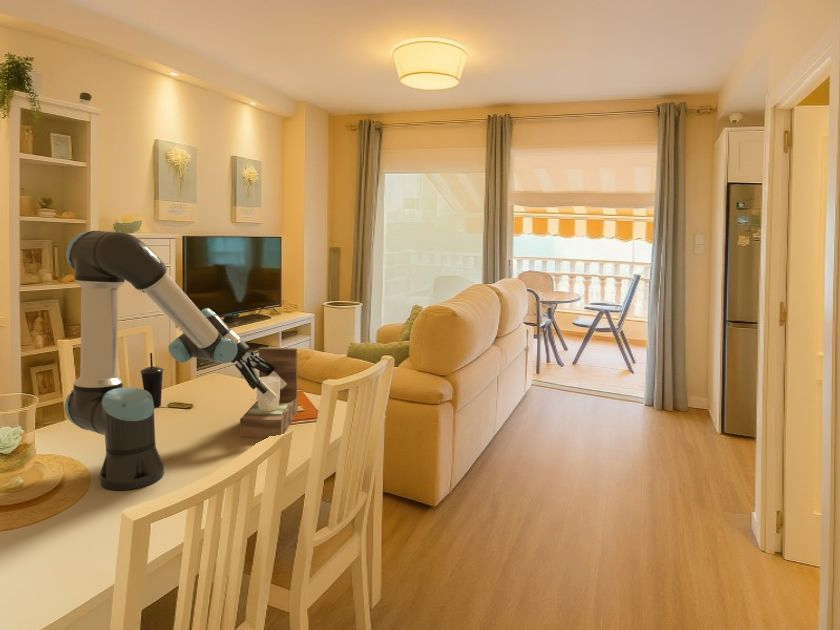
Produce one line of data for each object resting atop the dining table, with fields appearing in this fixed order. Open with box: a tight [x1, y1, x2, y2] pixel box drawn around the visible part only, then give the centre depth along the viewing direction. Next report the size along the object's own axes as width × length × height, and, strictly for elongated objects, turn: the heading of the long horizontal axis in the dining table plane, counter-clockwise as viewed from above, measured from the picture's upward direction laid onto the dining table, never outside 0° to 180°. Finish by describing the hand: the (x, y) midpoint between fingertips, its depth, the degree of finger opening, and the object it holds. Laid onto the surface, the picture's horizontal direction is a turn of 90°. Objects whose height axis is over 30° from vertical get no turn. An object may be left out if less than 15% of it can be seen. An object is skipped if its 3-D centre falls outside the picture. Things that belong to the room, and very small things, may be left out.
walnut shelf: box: [239, 347, 299, 439], centre depth 187 cm, size 24×13×24 cm, turn 0°
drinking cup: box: [139, 352, 164, 409], centre depth 203 cm, size 8×8×20 cm
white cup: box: [255, 376, 280, 411], centre depth 185 cm, size 8×8×10 cm
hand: (279, 392), depth 185 cm, fingers open, 13 cm apart
